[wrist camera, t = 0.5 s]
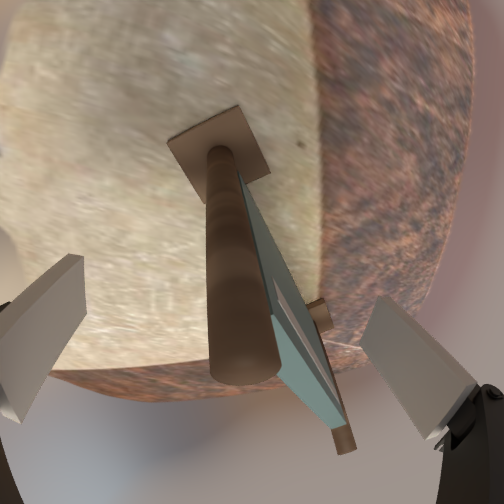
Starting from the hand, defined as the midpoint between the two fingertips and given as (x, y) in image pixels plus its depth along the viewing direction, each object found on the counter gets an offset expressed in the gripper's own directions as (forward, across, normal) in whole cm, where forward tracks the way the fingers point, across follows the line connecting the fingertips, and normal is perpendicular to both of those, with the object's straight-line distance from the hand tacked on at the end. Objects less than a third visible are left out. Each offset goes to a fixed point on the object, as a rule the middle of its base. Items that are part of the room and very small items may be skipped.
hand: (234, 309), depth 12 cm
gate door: (+15, +6, -3) cm, 17 cm away
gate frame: (+16, +6, -3) cm, 18 cm away
